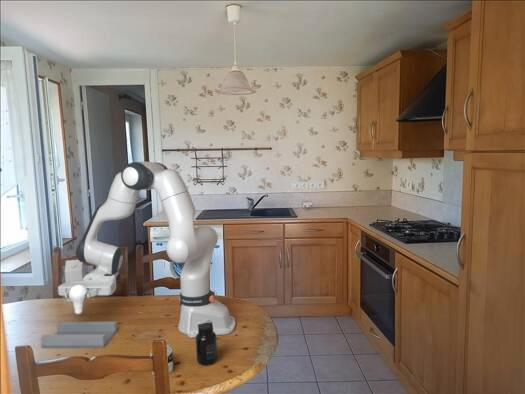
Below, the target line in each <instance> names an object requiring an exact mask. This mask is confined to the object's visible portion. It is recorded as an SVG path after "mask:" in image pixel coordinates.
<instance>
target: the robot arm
mask: <svg viewBox="0 0 525 394" xmlns="http://www.w3.org/2000/svg"><path fill="white" fill-rule="evenodd" d="M141 190H142V191H143V190H144V191H150V190H153V191H154V190H155V192H156V193H157V195H158V197H159V199H160V202H161V206H162V207H163V210H164V213H165V216H166V218H167V222H168V230H169V235H168V236H169V237H168V241H167V242H166V245H165V246H166V249H165V250H166V254H167V256H168V258H169V260H171V261H172V262H174V263H177V264H184V265H183V267H182V269H181V270H180V275H179V279H180V281H179V282H180V292H179V307H180V316H179V323H178V326H177V329H178V331H179V332H180V333H182V334H185V335H186V336H187V337H188V338H192V339H193V338H194V339H195V338H196V335H197V334H198V326H199V325H200V324H203V323H211V324H212V325H213V331H214V332H215V333H216V336H221V335H229V334H231V333H232V332H233V331H234V330H235V328H236V318H235V317H234V316H232V315H230V311H229V308H228V307H227V306H226V305H225V304H223V303H222V302H219V301H218V299H216V293H215V292H216V291H215V290H213V291H212V290H211V289H210V270H211V263H212V258H213V253H214V250H215V247H216V246H217V244H218V240H219V237H218V233H217V232H216V230H215V229H214V228H213V227H211V226H208V225H207V226H206V225H203V226H195V220H194V219H195V214H196V207H195V205H194V202H193V199H192V197H191V195H190V192H189V190H188V187H187V185H186V183H185V181H184V179H183V178H182V176H181V175H180V172H178V171H177V170H176V169H173V168H168V167H167V166H166V165H164V164H163V163H160V162H152V161H151V162H150V161H133V162H130V163H128V164H126V165H125V166H124V167H123V168H122V170H121V171H120V172H118V173H117V174H116V175H115V177H114V178H113V181H112V183H111V186H110V188H109V192H108V196H107V198H106V201H105V202H104V203H103V204H99V205H98V206H97V208H95V210H94V212H93V214H92V217H91V218H90V219H89V220H90V221H89V222H88V225H87V227H86V229H85V232H84V234H83V236H82V238H81V240H80V241H79V244H78V245H77V248H76V250H75V256H76V259H77V260H79V261H80V262H83V264H90V265H93V266H97V267H96V268H94V270H91V271H90V272H89V273H87V274H85V277H84V278H83V280H73V281H68V282H66V281H65V282H64V283H61V284H60V285H58V287H57V293H58V295H59V296H60V297H62V296H63V297H65V299H67V298H69V291H70V289H71V288H72V287H73V286H75V285H83V286H85V287H86V289H87V293H85V299H90V298H91V297H96V296H111V295H113V294H114V293H115V292H116V290H117V277H118V275H119V273H120V270H121V268H122V266H123V264H124V260H125V256H124V253H123V250H122V249H121V247H119V246H115V245H113V244H109V243H105V242H101V241H100V240H98V239H97V236H98V233H99V231H100V229H101V226H102V224H103V223H104V222H106V221H119V220H124V219H126V218H128V217H130V216H131V215H132V214H133V213H134V212H135V208H136V205H137V202H138V196H139V195H140V194H139V193H140V191H141Z"/></svg>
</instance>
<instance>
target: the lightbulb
mask: <svg viewBox="0 0 525 394" xmlns="http://www.w3.org/2000/svg"><path fill="white" fill-rule="evenodd" d="M85 293H87V289H86V287H85V286H83V285H75V286H73V287H72V288H71V289H70V291H69V298H70V299H71V301H72V302H71V303H72V305H73V306H72V307H73V310H74V314H76V315H81V314H82V313H83V308H84V303H85V300H86V298H85Z"/></svg>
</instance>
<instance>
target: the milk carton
mask: <svg viewBox="0 0 525 394" xmlns="http://www.w3.org/2000/svg"><path fill="white" fill-rule="evenodd" d="M84 264H85V263H84V262H80V261H79V260H78V259H71V260H70V259H69V260H65V265H64V266H65V267H64V279H65V282H68V281H73V280H83V278H84V277H85V276H86V273H85V265H84ZM66 301H67V303H73V302H72V301H71V299H70V298H66Z"/></svg>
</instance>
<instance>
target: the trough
mask: <svg viewBox="0 0 525 394" xmlns="http://www.w3.org/2000/svg"><path fill="white" fill-rule="evenodd" d="M117 325H118V324H117V321H59V322H58V323H57V324H56V327H57V331H56V332H55V333H54V334H43V335H42V336H41V337H40V340H41V341H40V343H41V349H104V348H105V347H106V345H108V343H109V342H111V341H110V340H112V338H113V337H114V336H115V334H116V333H118V327H117Z"/></svg>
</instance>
